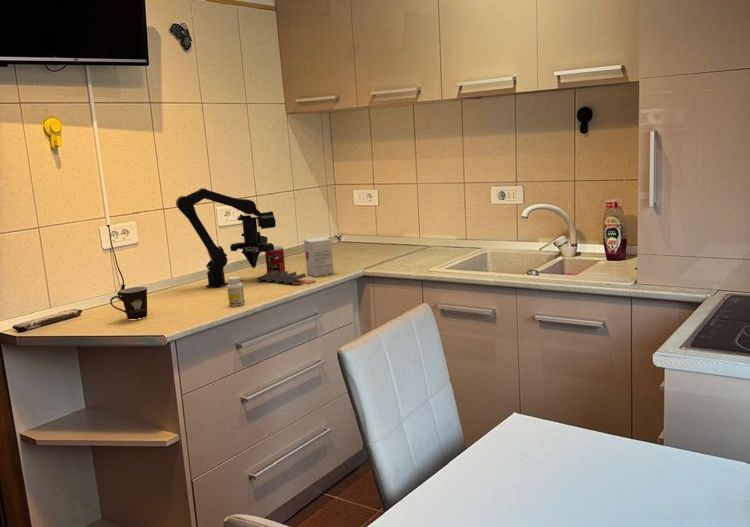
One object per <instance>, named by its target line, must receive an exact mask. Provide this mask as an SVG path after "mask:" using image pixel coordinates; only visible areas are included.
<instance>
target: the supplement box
mask: <svg viewBox="0 0 750 527" xmlns="http://www.w3.org/2000/svg"><path fill="white" fill-rule="evenodd" d="M303 246H304V255H305V266H306V274H307V275H308V274H309V276H311V277H313V276H314V277H313V278H318V277H317V276H319V277H323V276H322V275H325V276H329V275H328V274H331V275H335V273H334V271H335V269H334V258H333V245H332V239H331V238H327V237H324V236H320V237H314V238H307V239H303Z"/></svg>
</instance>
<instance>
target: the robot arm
mask: <svg viewBox="0 0 750 527" xmlns="http://www.w3.org/2000/svg"><path fill="white" fill-rule="evenodd" d="M203 200H208V201H212V202H215V203H218V204H221V205H224V206H229V207H232V208H234V209H236V210H237V211H240V212H242V213H243V214H246V215H243V214H242V213H240V215H239V216H238V217H237V218H236V220H237V221H241V222H242V224H241V225H242V231H243V232H242V233H241V237H243V241H244V242H235V243H234V242H233V243H231V244H230V246H229V248H230V249H229V250H230V252H237V251H238V250H242V251H241V252H240V253H241V254H243V255H244V257H245V258H246V259H247V262H248V264H250V267H252V268H253V269H255V268H256V267H257V264H258V263H257V262H258V259H259V256H260V254H261V253H265V252H268V251H271V250H274V247H275V245H274V244H273V243H271V242H268V240H269V239H268V236H264V235H261V233H260V231H258V228H260V229H261V230H265V229H273V228H276V218H275V214H274V212H273V211H266V212H261V211H260V210H259V209H258V208H257V204H256V203H255V202H254V201H253V200H251V199H247V198H238V197H232V196H229V195H225V194H222V193H219V192H215V191H212V190H209V189H206V188H203V187H202V188H199V189H198V190H196V191H194V192H192V193H190V194H187V195H186V196H185V195H181V196H178V197H177V198H176V200H175V206H176V208H177V209H178V210H179V211H180V212H181V213H182V214H183V215H184V217H186V219H187V220H188V221H189V222H190V224H191V226H192V228H193V230H194V231H195V233H196V234H197V236H198V237H199V238H200V240H201V242H202V243H203V245H204V247H205V248H206V251H207V254H208V256H209V257H208V258H210V260H209V262H207V264H206V266H205V267H206V268H207V270H208V271H207V272H206V274H207V275H206V276H207V281H208V284H207V285H205V287H206V288H220V287H223V286H226V285H227V286H228V284H229V282H226V278H225V272H224V267H226V265H227V264H228V258H227V257H228V255H227V254H226V252H225V250H224V249H223V246H222V245H218V246H217V245H216V243H215V242H214V240H213V239H212V237H211V235H210V234H209V232H208V231H207V229H206V228H205V226H204V224H203V222H201V220H200V218H199V216H198V213H197V212H196V208H195V206H194V205H196V204H198V203H200V202H201V201H203ZM252 215H254V216H252Z"/></svg>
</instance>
